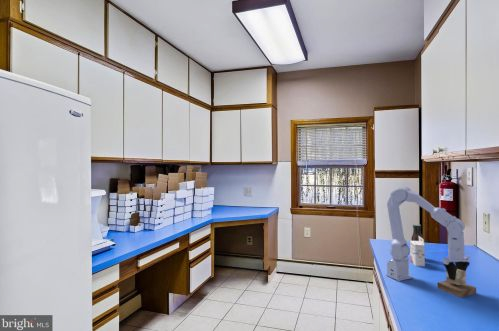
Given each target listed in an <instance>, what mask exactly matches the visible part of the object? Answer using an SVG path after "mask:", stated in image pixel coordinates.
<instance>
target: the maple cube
mask: <svg viewBox="0 0 499 331" xmlns="http://www.w3.org/2000/svg"><path fill="white" fill-rule="evenodd" d="M445 270H446V269H445ZM445 274H446V278H445V281H446V280H447V281H449V282H451V283H454V284H457V285H460V284H464V283H465V284H467V272H466V271H462V270H459V269H457V271H456V278H455V280H452V279H449V276H448V273H447V270H446V273H445Z"/></svg>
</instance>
